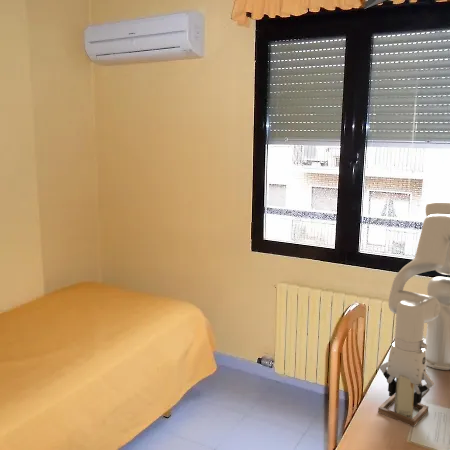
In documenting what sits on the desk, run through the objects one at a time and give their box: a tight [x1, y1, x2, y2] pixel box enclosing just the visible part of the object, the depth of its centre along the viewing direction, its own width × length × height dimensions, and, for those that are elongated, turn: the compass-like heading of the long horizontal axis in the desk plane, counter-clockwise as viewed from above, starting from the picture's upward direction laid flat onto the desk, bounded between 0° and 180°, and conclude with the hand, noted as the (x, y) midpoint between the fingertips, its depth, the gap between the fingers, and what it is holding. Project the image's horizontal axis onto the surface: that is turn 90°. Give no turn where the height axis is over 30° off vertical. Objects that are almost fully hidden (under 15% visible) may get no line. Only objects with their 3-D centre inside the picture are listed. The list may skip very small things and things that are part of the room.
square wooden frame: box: [377, 394, 429, 428], centre depth 142 cm, size 11×11×2 cm
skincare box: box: [394, 376, 415, 419], centre depth 141 cm, size 6×4×12 cm
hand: (404, 398), depth 141 cm, fingers closed on skincare box, 6 cm apart
